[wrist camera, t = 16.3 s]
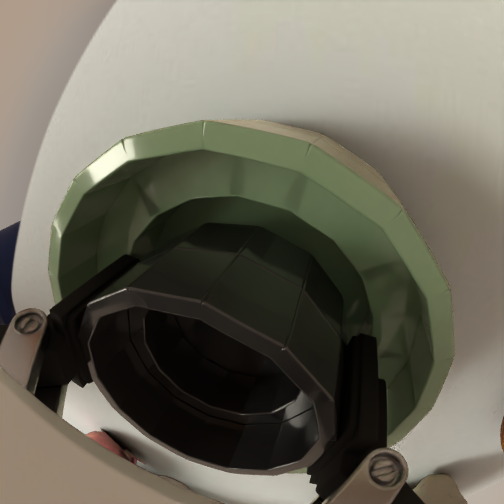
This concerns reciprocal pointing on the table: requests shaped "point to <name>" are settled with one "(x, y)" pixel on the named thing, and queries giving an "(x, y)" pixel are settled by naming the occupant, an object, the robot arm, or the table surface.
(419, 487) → the ceramic sculpture
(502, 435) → the fruit
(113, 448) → the onion
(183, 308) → the charcoal bowl
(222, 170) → the green bowl
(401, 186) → the table surface
